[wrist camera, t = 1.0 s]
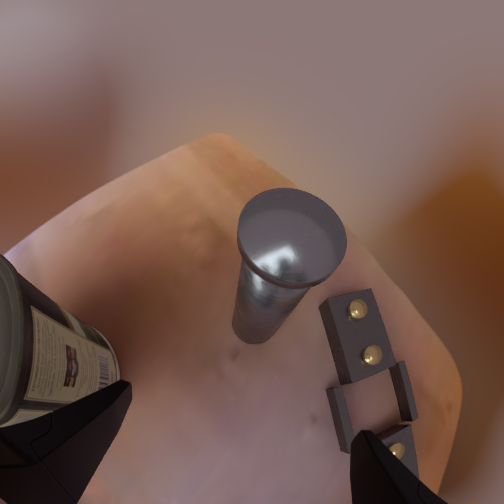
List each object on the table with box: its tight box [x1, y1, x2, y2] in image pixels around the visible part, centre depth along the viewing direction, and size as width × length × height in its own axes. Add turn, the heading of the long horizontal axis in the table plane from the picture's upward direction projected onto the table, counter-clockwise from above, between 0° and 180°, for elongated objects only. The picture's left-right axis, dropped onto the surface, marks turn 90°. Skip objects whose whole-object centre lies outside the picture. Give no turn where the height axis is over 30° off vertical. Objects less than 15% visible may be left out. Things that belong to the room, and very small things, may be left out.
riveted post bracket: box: [319, 288, 419, 479], centre depth 19 cm, size 22×8×3 cm, turn 12°
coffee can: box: [0, 254, 120, 427], centre depth 13 cm, size 10×10×14 cm
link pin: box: [232, 188, 347, 344], centre depth 18 cm, size 5×5×15 cm
